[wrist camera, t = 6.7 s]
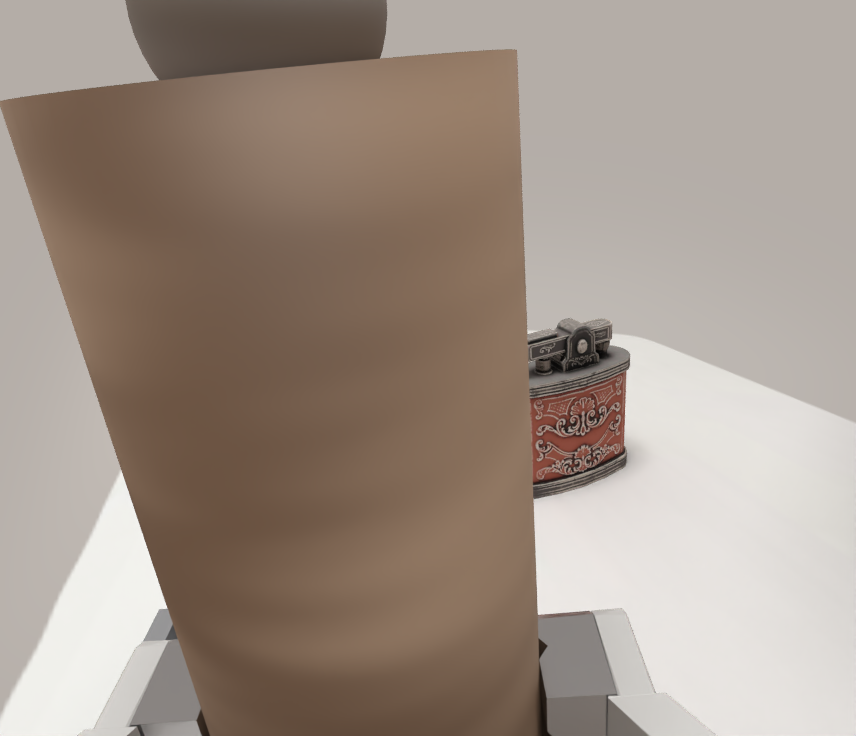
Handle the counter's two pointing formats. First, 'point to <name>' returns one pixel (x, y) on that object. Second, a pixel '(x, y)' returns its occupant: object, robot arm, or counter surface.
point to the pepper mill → (310, 358)
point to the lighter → (576, 405)
